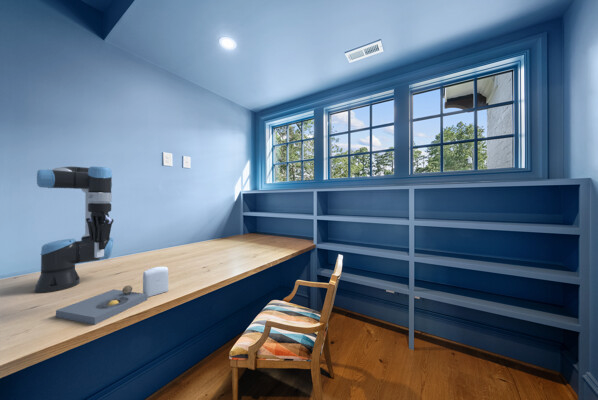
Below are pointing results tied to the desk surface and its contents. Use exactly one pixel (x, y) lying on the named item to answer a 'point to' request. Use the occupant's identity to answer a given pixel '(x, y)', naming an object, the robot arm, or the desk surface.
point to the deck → (101, 306)
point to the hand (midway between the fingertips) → (99, 256)
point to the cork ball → (127, 289)
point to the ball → (113, 302)
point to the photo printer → (155, 281)
